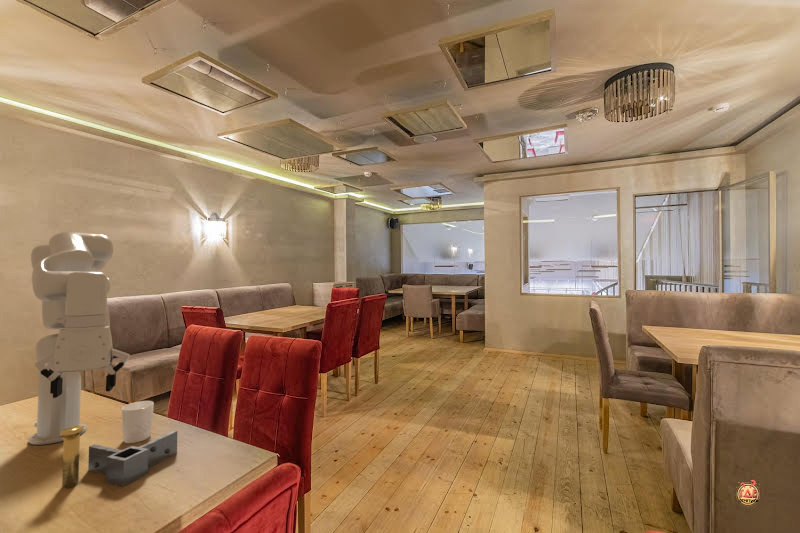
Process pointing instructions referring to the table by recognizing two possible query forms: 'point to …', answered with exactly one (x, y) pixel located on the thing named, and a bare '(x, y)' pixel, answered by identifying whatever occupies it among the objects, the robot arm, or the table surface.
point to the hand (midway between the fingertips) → (84, 393)
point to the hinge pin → (71, 455)
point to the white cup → (137, 421)
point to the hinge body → (130, 459)
